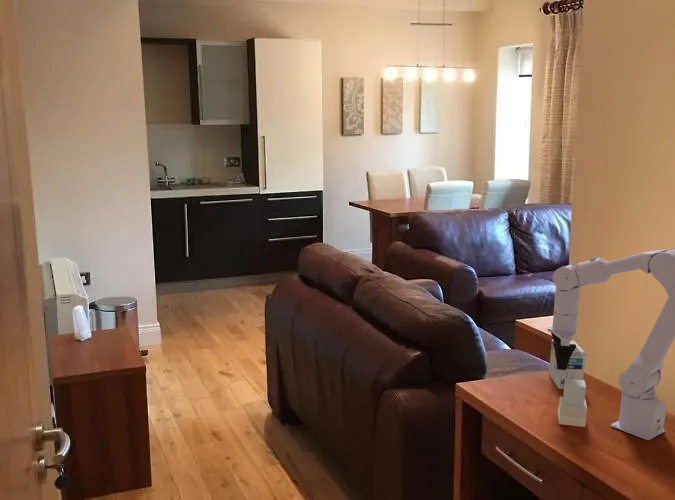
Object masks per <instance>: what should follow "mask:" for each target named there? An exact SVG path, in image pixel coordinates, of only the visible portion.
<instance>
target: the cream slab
mask: <svg viewBox="0 0 675 500" xmlns="http://www.w3.org/2000/svg"><path fill="white" fill-rule="evenodd" d="M557 418H558V424H559V425H565V426H574V427H582V428H586V422H587V418H586V419H585V418H577V417H569V416H561V415H560V412H559V405H558V407H557Z"/></svg>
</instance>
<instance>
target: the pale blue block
mask: <svg viewBox="0 0 675 500" xmlns="http://www.w3.org/2000/svg"><path fill="white" fill-rule="evenodd" d="M586 389H587V385H586V380H584V379H583V380H576V379H567V378H565V386H564V389H563V395H562V396H563V399H564V405H571V406H579V407H584V401H585V400H586Z"/></svg>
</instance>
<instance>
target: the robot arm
mask: <svg viewBox="0 0 675 500" xmlns="http://www.w3.org/2000/svg"><path fill="white" fill-rule="evenodd" d="M636 270H641V271H642V272H644V273H645V274H651V275H652V277H654V278H655V279H656V281H657V282H659V284H660V285H661V286H662V287H663V288H664V290H665V292H666V293H667V296H668V298H667V300H666V302H665V304H664V305H663V308H662V309H661V311H660V313H659V316H658V318H656V321H655V323H654V325H653V326H652V328H651V331H650V333H649V335H648V336H647V339H646V341H645V343H644V344H643V346H642V348H641V351H640V352H639V354H638V355H637V356H636V358H635V359H634V360H633V361H632V362H631V364H630V366H629V367H628V368H627V369H626V370H625V371H623V372H622V373H621V374H620V375H619V379H618V384H619V387H620V389H621V390H622V391H621V399H620V406H619V407H620V408H619V409H620V410H619V419H618V420H617V421H615V422H613V423H611V424H610V427H612V428H615V429H618V430H620V431H622V432H625V433H628V434H630V435H632V436H636V437H638V438H640V439H643V440H646V441H650V440H652V439H653V438H655V437H657V436H659V435H661V434H663V433H665V431H666V430H665V429H664V427H665V418H666V412H667V411H666V410H667V405H666V402H665V401H664V400H662V399H660V398H659V397H657V396H656V388H655V387H656V386H658V385H659V384H660V382H661V381H662V369H663V367H664V362H663V361H664V359H665V357H666V356H667V354H668V352H669V350H670V348H671V346H672V344H673V342H674V340H675V247H674V248H671V249H670V250H668V249H667V248H666V249H658V250H657V249H656V250H650V251H644V252H640V253H637V254H634V255H630V256H625V257H621V258H619V259H618V258H617V259H614V260H610V261H608V260H607V259H605V258H603V257H598V256H593V257H589V260H587V261H583V262H582V261H581V262H578V261H574V262H572V264H568V265H565V266H561V267H559V268H557V269H556V270H554V272H553V274H552V283H553V284H554V287H555V293H554V294H555V295H554V305H553V315H552V326H551V327H550V326H547V328H546V329H547V332H548V333H550V335H551V336H552V339H553V340H554V341H552V340H551V345H552V344H553V347H554V349H555V357H556V363H557V369H558V370H566V369H567V367H568V363H569V360H570V357H571V355H572V353H573V352H574V350H575V349H576V344H570V341H571V340H572V339H574V337H575V336H576V335H577V333H578V331H577V325H578V324H577V323H578V315H579V314H578V313H579V303H580V302H579V301H580V294H581V293H580V291H581V287H585V286H590V285H594V284H600V283H604V282H608V281H609V280H610V278H611V277H612V275H616V274H620V273H625V272H626V273H627V272H630V271H631V272H632V271H636Z"/></svg>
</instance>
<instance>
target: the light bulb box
mask: <svg viewBox="0 0 675 500" xmlns="http://www.w3.org/2000/svg"><path fill="white" fill-rule="evenodd" d="M552 341H554V340H553V338H551V342H552ZM570 344H576V349H575V350H574V352H573V353H572V355H571V357H570V360H569V363H568V367H567V369H566V370H558V369H557V363H556V357H555V349H554V347H553V344H552V343H551V347H550V348H551V349H550V358H549V359H550V360H549V369H548V371H549V372H548V376H549V378H550V379H551V381H553V383H554V384H555V386H556V388H558V390H564V386H565V378H567V379H576V380H584V376H585V368H586V367H585V365H586V356H587V352H586V351H585V350H584V349H583V348H582V347H581V346H580V345H579V344H578V343H577V342H576V340H572V339H571V341H570Z"/></svg>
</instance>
